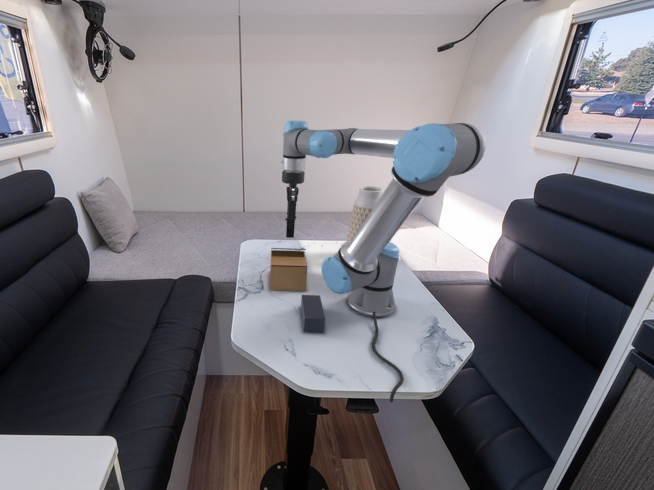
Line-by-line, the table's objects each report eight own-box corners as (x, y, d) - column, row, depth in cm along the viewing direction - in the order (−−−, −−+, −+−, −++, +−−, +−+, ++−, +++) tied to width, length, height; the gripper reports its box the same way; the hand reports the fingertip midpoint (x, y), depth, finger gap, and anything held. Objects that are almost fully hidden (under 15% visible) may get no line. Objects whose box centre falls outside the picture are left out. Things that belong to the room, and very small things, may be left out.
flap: (271, 249, 145) (271, 248, 145) (304, 250, 144) (304, 249, 144) (271, 248, 137) (271, 247, 137) (306, 249, 137) (306, 248, 137)
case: (323, 332, 112) (325, 318, 110) (303, 332, 112) (304, 318, 110) (318, 308, 125) (319, 295, 123) (300, 307, 125) (301, 294, 123)
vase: (356, 266, 155) (367, 194, 142) (338, 254, 166) (347, 185, 153) (383, 262, 160) (396, 191, 146) (364, 250, 171) (374, 183, 158)
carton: (270, 271, 149) (271, 248, 145) (302, 272, 149) (304, 249, 144) (269, 289, 136) (270, 264, 131) (305, 291, 135) (307, 265, 131)
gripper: (281, 166, 130) (279, 230, 140) (282, 174, 118) (279, 243, 128) (303, 167, 130) (299, 231, 140) (306, 174, 118) (301, 243, 128)
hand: (289, 236), depth 134 cm, fingers closed
